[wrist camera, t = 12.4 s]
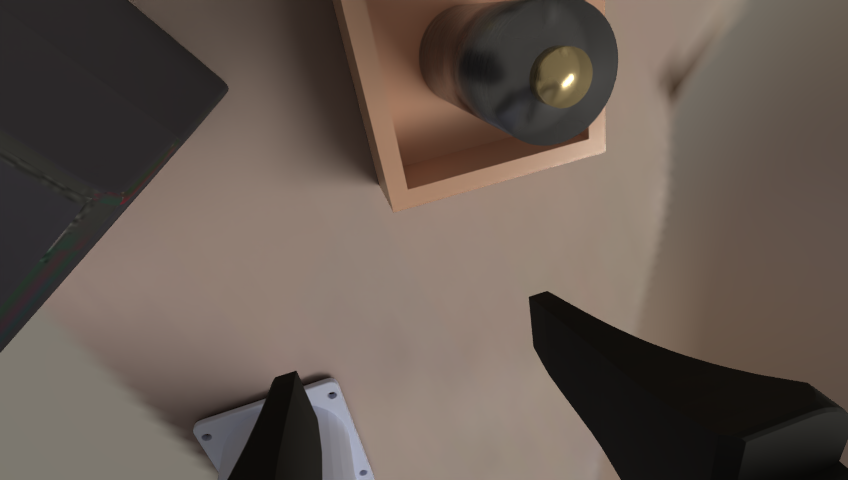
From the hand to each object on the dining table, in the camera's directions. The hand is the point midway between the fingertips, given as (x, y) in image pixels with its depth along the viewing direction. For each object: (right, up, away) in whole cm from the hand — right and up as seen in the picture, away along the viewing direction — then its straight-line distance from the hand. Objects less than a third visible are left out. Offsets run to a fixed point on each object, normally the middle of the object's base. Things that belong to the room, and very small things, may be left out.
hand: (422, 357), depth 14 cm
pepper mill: (+2, +12, +6) cm, 13 cm away
